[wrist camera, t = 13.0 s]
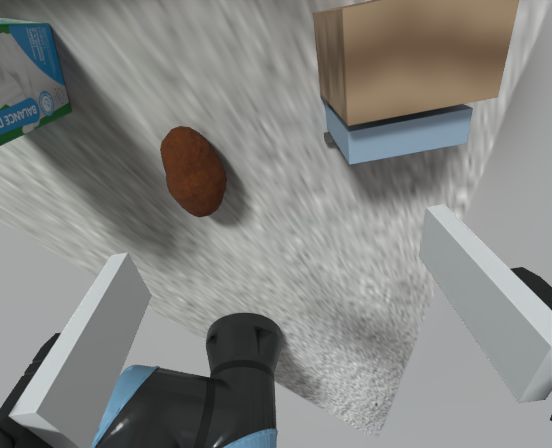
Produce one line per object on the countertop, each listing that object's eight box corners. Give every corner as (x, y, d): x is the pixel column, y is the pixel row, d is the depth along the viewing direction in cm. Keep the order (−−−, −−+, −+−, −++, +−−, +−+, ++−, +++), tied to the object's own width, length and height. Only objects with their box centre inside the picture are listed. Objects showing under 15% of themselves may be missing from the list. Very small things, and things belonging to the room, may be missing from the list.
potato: (210, 113, 37) (199, 133, 31) (241, 192, 44) (237, 222, 37) (154, 130, 38) (131, 153, 32) (192, 205, 45) (180, 237, 38)
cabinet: (416, 123, 39) (482, 166, 27) (324, 140, 40) (350, 189, 28) (427, -12, 31) (525, -31, 20) (313, 13, 32) (342, 8, 20)
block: (412, 119, 39) (464, 153, 29) (327, 135, 40) (349, 173, 30) (415, 84, 37) (472, 108, 27) (324, 102, 37) (348, 132, 27)
